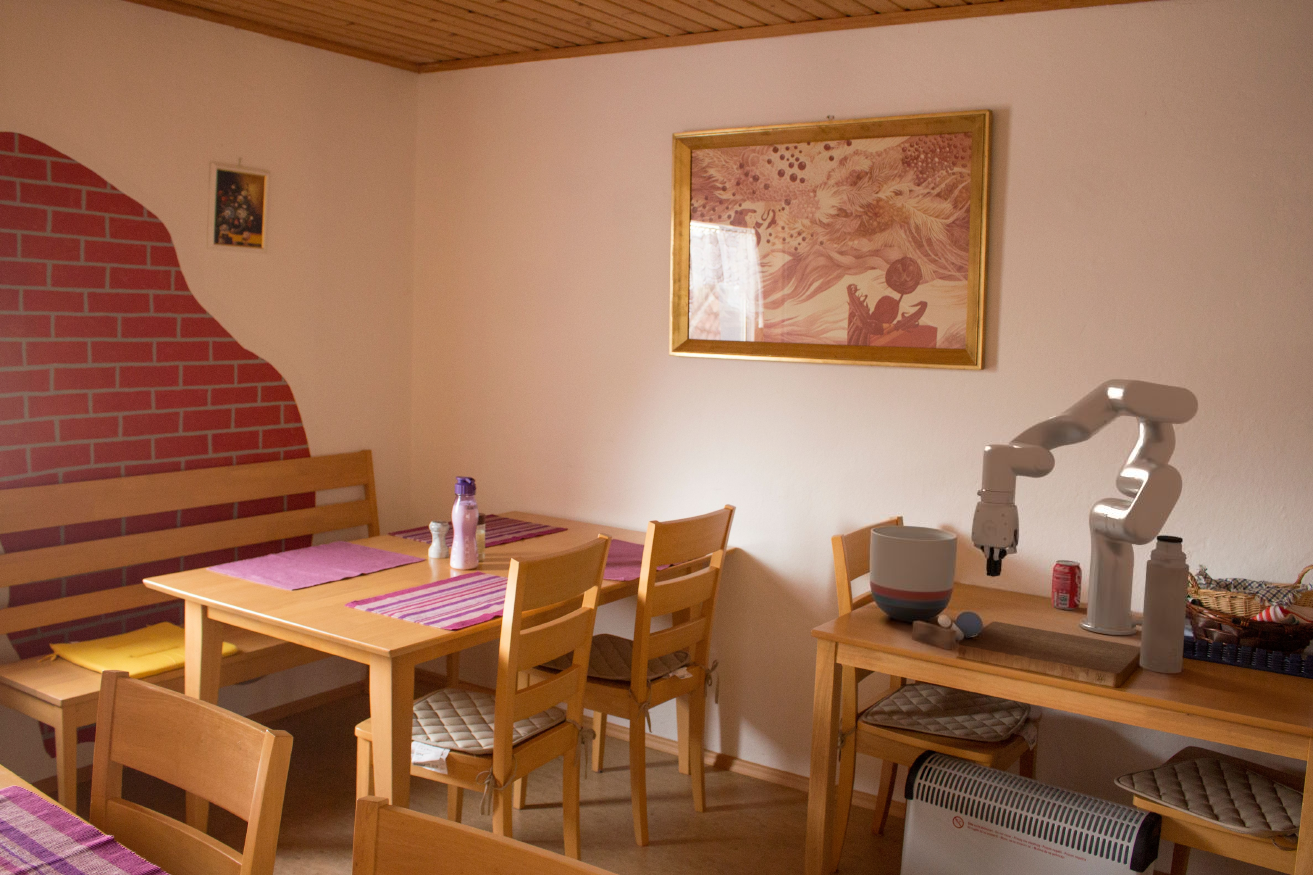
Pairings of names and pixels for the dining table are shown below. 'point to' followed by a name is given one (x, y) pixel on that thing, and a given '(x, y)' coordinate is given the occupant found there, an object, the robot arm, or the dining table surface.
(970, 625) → the ball
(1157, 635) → the thermos bottle
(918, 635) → the stopper bar
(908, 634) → the dining table surface
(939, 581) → the planter
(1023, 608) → the dining table surface
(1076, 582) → the soda can
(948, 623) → the pin
